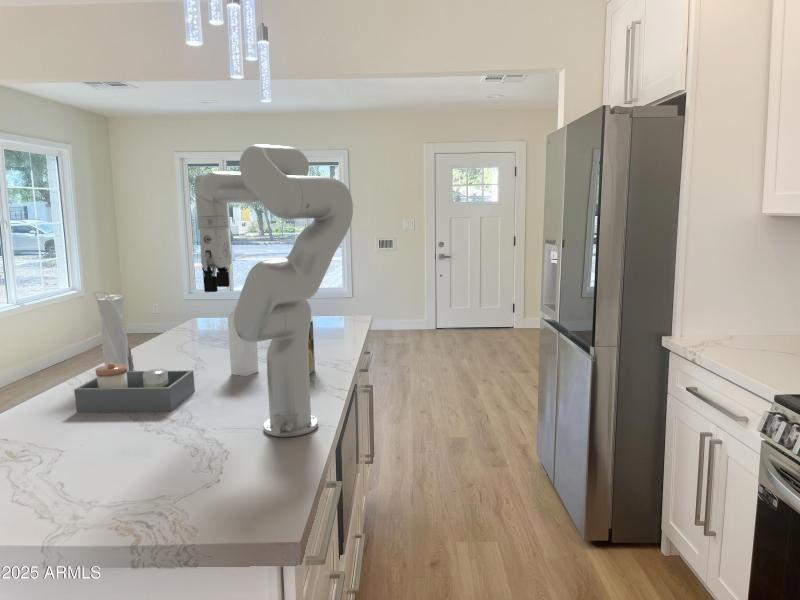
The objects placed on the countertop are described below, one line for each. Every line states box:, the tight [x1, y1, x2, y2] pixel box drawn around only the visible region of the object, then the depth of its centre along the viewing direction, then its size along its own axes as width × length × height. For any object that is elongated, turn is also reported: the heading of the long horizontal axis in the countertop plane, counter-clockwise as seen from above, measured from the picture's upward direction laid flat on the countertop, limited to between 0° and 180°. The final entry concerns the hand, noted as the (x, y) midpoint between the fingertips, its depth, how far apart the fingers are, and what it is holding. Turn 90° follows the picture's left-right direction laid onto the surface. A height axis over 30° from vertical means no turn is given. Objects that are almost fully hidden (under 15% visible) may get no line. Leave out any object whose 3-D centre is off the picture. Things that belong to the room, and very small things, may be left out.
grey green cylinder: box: [143, 368, 169, 388], centre depth 151 cm, size 6×6×8 cm
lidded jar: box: [94, 363, 128, 388], centre depth 151 cm, size 7×7×10 cm
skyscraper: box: [93, 290, 136, 371], centre depth 170 cm, size 8×8×28 cm
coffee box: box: [308, 320, 316, 375], centre depth 176 cm, size 9×6×16 cm
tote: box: [74, 369, 196, 414], centre depth 151 cm, size 16×24×7 cm, turn 89°
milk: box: [227, 304, 259, 377], centre depth 178 cm, size 6×6×22 cm
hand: (217, 289), depth 149 cm, fingers open, 9 cm apart
